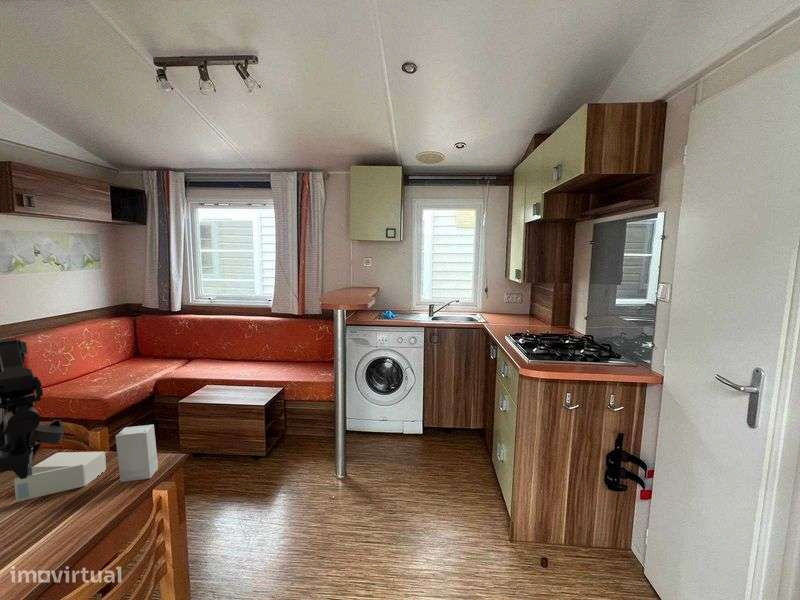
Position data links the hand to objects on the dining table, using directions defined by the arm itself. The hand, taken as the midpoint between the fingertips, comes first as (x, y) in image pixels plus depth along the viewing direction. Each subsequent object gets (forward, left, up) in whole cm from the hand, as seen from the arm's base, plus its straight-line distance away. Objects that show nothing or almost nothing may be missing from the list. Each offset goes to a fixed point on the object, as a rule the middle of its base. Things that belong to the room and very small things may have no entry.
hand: (24, 477), depth 97 cm
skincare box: (+22, +11, -7) cm, 26 cm away
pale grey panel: (+4, +3, -6) cm, 8 cm away
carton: (+3, +10, -7) cm, 13 cm away
